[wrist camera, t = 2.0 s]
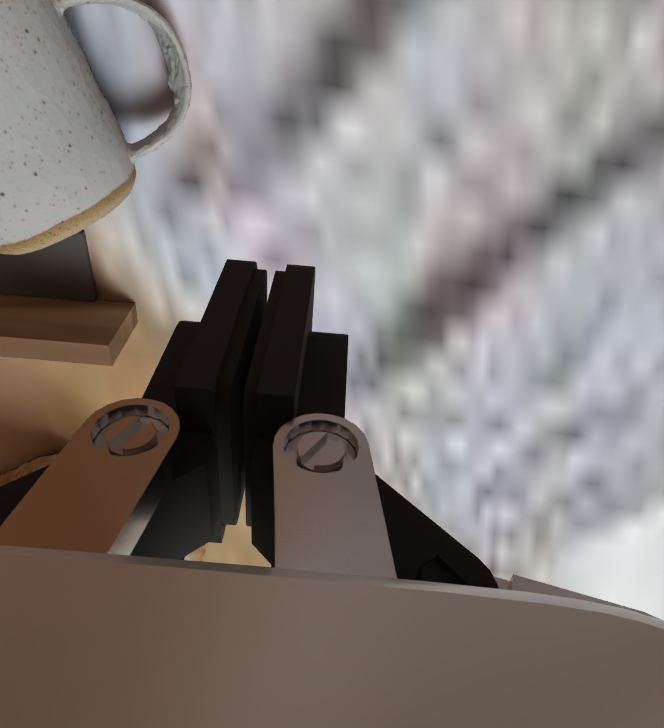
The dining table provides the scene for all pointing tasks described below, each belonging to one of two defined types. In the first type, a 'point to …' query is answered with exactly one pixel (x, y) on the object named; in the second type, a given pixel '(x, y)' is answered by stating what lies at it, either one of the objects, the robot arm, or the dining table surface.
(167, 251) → the dining table surface
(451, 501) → the dining table surface
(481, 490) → the dining table surface
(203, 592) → the robot arm
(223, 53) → the dining table surface
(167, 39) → the ceramic mug
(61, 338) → the trap box
